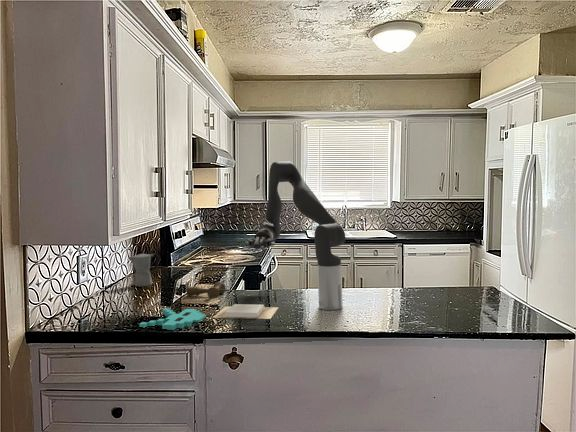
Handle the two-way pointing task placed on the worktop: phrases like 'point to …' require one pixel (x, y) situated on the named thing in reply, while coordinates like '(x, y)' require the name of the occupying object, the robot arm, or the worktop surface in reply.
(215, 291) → the kendama
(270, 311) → the tan flat rectangular board
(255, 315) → the tile
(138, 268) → the coffeepot
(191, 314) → the alien figure
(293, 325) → the worktop surface
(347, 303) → the worktop surface
